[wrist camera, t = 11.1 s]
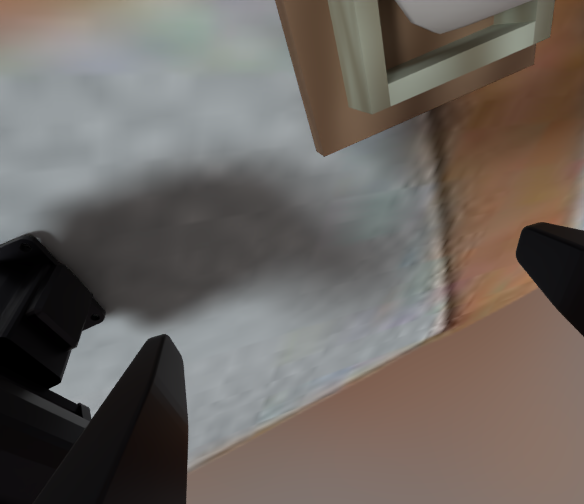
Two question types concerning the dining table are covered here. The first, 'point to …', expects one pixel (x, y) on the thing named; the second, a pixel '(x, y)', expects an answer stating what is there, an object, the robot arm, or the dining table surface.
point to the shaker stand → (396, 62)
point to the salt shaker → (452, 12)
